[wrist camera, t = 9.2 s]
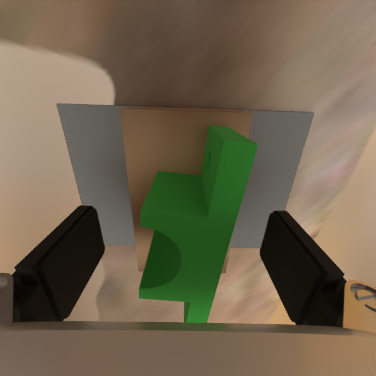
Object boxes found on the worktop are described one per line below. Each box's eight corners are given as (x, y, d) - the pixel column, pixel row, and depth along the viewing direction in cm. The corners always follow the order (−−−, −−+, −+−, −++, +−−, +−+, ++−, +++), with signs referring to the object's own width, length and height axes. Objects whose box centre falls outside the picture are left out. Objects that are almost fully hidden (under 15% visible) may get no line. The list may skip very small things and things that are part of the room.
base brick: (141, 106, 14) (119, 108, 9) (231, 109, 14) (252, 112, 10) (150, 231, 19) (138, 271, 14) (216, 232, 19) (225, 273, 15)
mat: (59, 103, 14) (56, 103, 14) (311, 112, 14) (314, 112, 14) (93, 241, 20) (91, 244, 20) (271, 245, 20) (272, 248, 20)
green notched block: (160, 118, 10) (141, 127, 6) (228, 127, 10) (259, 142, 6) (152, 267, 14) (137, 334, 10) (198, 271, 15) (203, 338, 10)
